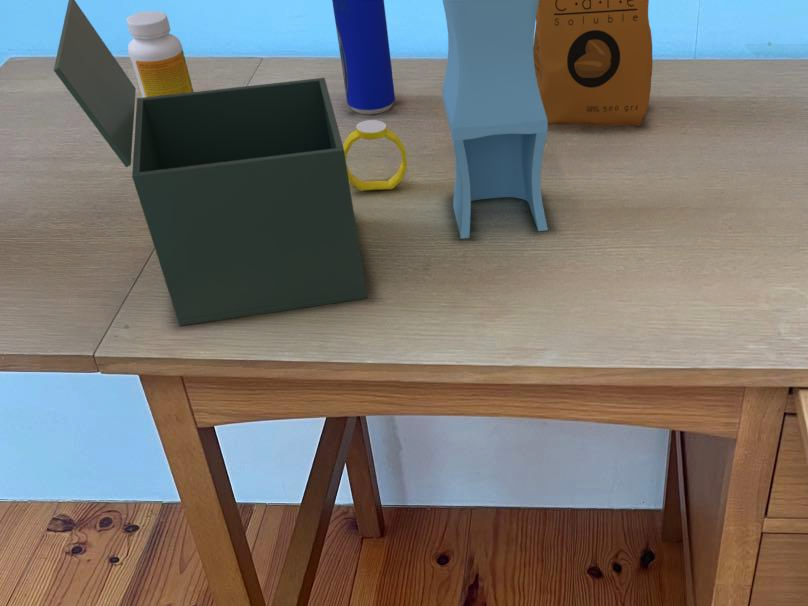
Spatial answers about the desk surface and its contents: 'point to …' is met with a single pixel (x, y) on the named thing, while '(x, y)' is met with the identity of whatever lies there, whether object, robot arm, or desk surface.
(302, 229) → the open box
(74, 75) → the box flap
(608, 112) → the coffee package
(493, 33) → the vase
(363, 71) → the beverage can
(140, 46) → the supplement bottle
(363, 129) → the watch
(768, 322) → the desk surface
